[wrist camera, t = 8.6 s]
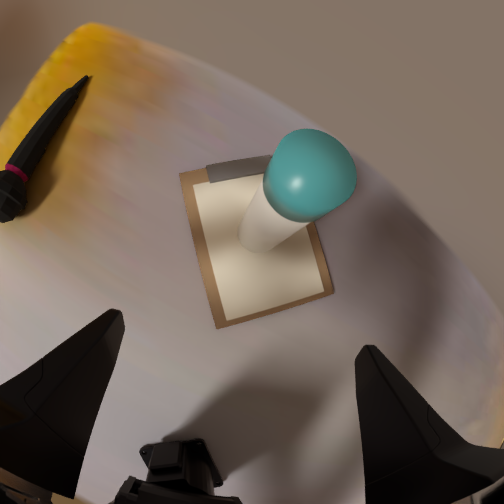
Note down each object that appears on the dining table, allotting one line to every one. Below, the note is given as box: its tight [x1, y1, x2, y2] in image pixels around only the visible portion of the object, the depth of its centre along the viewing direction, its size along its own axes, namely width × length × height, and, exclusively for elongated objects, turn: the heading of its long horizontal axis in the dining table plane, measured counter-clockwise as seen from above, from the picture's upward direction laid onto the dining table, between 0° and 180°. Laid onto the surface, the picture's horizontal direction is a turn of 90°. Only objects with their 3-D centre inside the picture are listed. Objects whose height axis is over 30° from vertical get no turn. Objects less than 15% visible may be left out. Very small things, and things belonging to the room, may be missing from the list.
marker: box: [237, 129, 357, 253], centre depth 17 cm, size 4×4×13 cm
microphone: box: [0, 75, 89, 223], centre depth 20 cm, size 6×6×20 cm
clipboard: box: [179, 155, 334, 329], centre depth 24 cm, size 14×11×1 cm
